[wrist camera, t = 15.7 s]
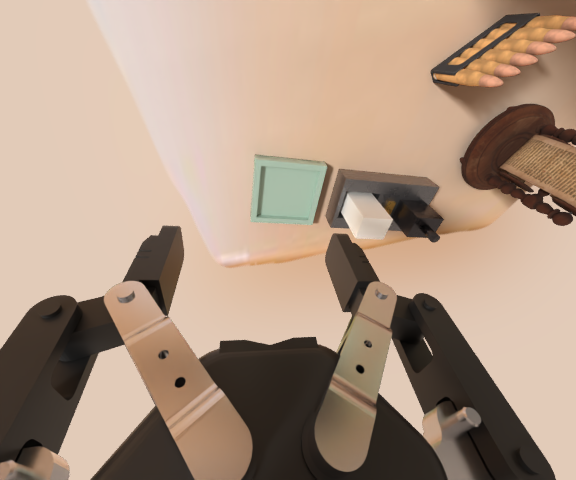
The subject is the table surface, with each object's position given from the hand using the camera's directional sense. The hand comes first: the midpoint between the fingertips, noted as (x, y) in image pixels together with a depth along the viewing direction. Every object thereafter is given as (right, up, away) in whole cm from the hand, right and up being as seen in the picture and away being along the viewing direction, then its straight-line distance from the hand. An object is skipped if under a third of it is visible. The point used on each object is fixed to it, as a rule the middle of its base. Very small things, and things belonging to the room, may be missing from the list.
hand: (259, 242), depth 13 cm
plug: (+14, +8, +34) cm, 37 cm away
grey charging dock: (+19, +9, +35) cm, 41 cm away
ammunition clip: (+27, +27, +22) cm, 44 cm away
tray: (+1, +9, +32) cm, 33 cm away
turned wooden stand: (+40, +17, +32) cm, 54 cm away
